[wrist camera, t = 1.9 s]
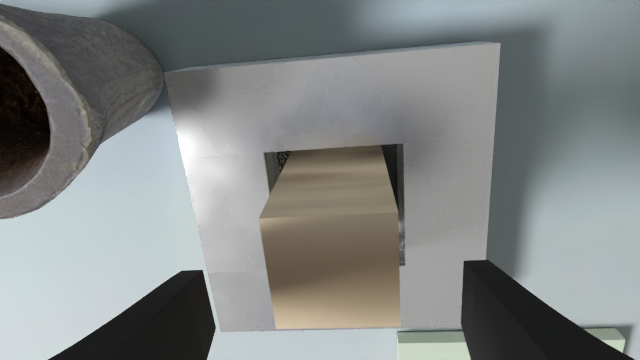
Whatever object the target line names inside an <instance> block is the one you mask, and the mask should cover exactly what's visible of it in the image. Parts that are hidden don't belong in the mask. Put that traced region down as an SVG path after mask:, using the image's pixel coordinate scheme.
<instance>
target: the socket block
mask: <svg viewBox="0 0 640 360" xmlns="http://www.w3.org/2000/svg"><path fill="white" fill-rule="evenodd" d="M500 47H501V43H494V42H483V41H473V42H462V43H451V44H440V45H429V46H417V47H406V48H395V49H384V50H372V51H361V52H350V53H339V54H328V55H316V56H305V57H294V58H283V59H272V60H260V61H249V62H238V63H227V64H215V65H204V66H193V67H186V68H182V69H178V70H173V71H169V72H165V73H164V78H165V82H166V87H167V91H168V96H169V100H170V105H171V109H172V114H173V118H174V123H175V127H176V132H177V136H178V141H179V145H180V150H181V154H182V159H183V163H184V168H185V172H186V177H187V181H188V186H189V190H190V195H191V199H192V204H193V209H194V213H195V218H196V222H197V227H198V231H199V236H200V240H201V245H202V249H203V254H204V258H205V263H206V267H207V272H208V276H209V281H210V285H211V290H212V294H213V299H214V303H215V308H216V312H217V317H218V321H219V326H220V330H221V332H236V331H284V330H333V329H382V328H430V327H462V326H461V307H462V286H463V265H464V261H469V260H486V250H487V236H488V221H489V206H490V192H491V177H492V163H493V148H494V134H495V119H496V105H497V90H498V76H499V61H500ZM386 144H397V187H398V222H399V272H400V322H401V327H362V328H310V329H276V326H275V320H274V314H273V307H272V301H271V295H270V288H269V282H268V276H267V270H266V263H265V257H264V251H263V244H262V238H261V232H260V225H259V216H260V214H261V212H262V210H263V208H264V206H265V204H266V202H267V200H268V198H269V196H270V194H271V192H272V190H273V188H274V186H275V184H276V182H277V180H278V178H279V176H280V172H279V165H278V157H277V152H279V151H295V150H310V149H325V148H340V147H355V146H371V145H386Z"/></svg>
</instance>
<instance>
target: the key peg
mask: <svg viewBox="0 0 640 360" xmlns="http://www.w3.org/2000/svg"><path fill="white" fill-rule="evenodd" d="M259 225H260V232H261V238H262V244H263V251H264V257H265V263H266V270H267V276H268V282H269V288H270V295H271V301H272V307H273V314H274V320H275V326H276V329H310V328H362V327H401V322H400V272H399V222H398V209H397V205H396V201H395V197H394V194H393V190H392V186H391V182H390V178H389V174H388V171H387V167H386V163H385V159H384V155H383V151H382V148H381V145H371V146H355V147H340V148H325V149H310V150H295V151H291V153H290V155H289V157H288V159H287V161H286V163H285V165H284V167H283V169H282V171H281V174H280V176H279V178H278V180H277V182H276V184H275V186H274V188H273V190H272V192H271V194H270V196H269V198H268V200H267V202H266V204H265V206H264V208H263V210H262V212H261V214H260V216H259Z"/></svg>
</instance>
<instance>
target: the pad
mask: <svg viewBox="0 0 640 360" xmlns="http://www.w3.org/2000/svg"><path fill="white" fill-rule="evenodd" d="M584 330H586V331H587V332H589V333H590V334H592V335H593V336H595V337H597V338H598V339H600V340H601V341H603V342H605V343H606V344H608V345H610V346H612V347H613V348H615V349H617V350H619V351H620V352H622V353H623V349H624V345H625V338H624V337H623V336H622V335H621V334H620V333H619V332H618V331H617V329H616V328H598V329H584ZM397 360H471V358H470V355H469V351H468V348H467V344H466V341H465V337H464V333H463V331H444V332H397Z"/></svg>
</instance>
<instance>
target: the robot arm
mask: <svg viewBox="0 0 640 360" xmlns="http://www.w3.org/2000/svg"><path fill="white" fill-rule="evenodd" d="M461 326H462V329H463V333H464V337H465V341H466V344H467V348H468V351H469V355H470V358H471V360H634V359H633V358H631V357H629V356H627V355H626V354H624V353H622V352H620V351H619V350H617V349H615V348H613V347H612V346H610V345H608V344H606V343H605V342H603V341H601V340H600V339H598V338H597V337H595V336H593V335H592V334H590V333H589V332H587V331H586V330H584V329H582V328H581V327H579V326H578V325H576V324H575V323H573V322H572V321H570V320H569V319H567V318H566V317H564V316H563V315H561V314H560V313H558V312H557V311H556V310H554V309H553V308H551V307H550V306H548V305H547V304H546V303H544V302H543V301H542V300H540V299H539V298H537V297H536V296H535V295H533V294H532V293H531V292H529V291H528V290H527V289H525V288H524V287H523V286H521V285H520V284H519V283H518V282H516V281H515V280H514V279H512V278H511V277H510V276H508V275H507V274H506V273H505V272H503V271H502V270H501V269H499V268H498V267H497V266H495V265H494V264H493V263H491V262H490V261H489V260H469V261H464V265H463V286H462V307H461ZM215 329H216V327H215V323H214V318H213V314H212V309H211V305H210V301H209V296H208V292H207V288H206V283H205V279H204V274H203V270H191V271H181V272H179V273H178V274H176V275H174V276H173V277H171V278H170V279H168V280H167V281H166V282H164V283H163V284H161V285H160V286H158V287H157V288H156V289H154V290H153V291H152V292H150V293H149V294H147V295H146V296H145V297H143V298H142V299H140V300H139V301H138V302H136V303H135V304H133V305H132V306H131V307H129V308H128V309H126V310H125V311H124V312H122V313H121V314H119V315H118V316H116V317H115V318H113V319H112V320H110V321H109V322H107V323H106V324H104V325H103V326H101V327H100V328H98V329H97V330H95V331H94V332H92V333H91V334H89V335H88V336H86V337H85V338H83V339H82V340H80V341H79V342H77V343H76V344H74V345H72V346H71V347H69V348H67V349H66V350H64V351H62V352H61V353H59V354H57V355H55V356H54V357H52V358H50V359H48V360H207V357H208V353H209V350H210V347H211V343H212V340H213V336H214V332H215Z"/></svg>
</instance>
